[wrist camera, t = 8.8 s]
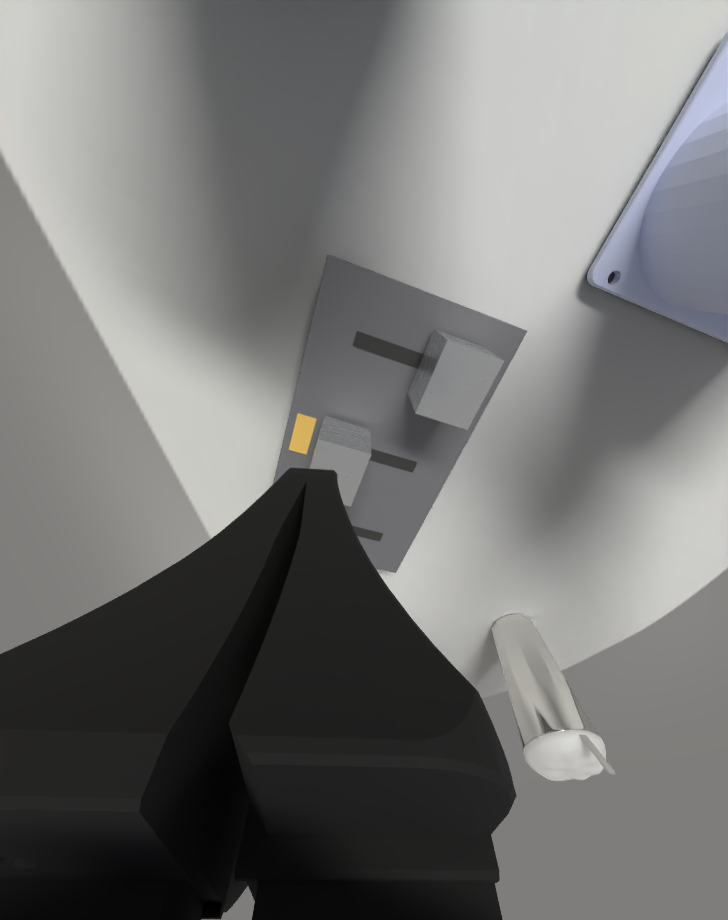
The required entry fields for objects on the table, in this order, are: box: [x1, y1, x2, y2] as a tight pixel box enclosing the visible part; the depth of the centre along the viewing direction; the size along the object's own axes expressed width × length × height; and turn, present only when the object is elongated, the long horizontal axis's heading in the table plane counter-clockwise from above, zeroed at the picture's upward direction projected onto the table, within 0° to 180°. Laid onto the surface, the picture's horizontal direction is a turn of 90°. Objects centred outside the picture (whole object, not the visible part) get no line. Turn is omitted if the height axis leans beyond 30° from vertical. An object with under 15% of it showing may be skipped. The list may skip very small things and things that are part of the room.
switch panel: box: [273, 255, 527, 573], centre depth 18 cm, size 8×15×2 cm, turn 162°
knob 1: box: [309, 416, 371, 507], centre depth 15 cm, size 2×3×2 cm
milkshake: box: [491, 614, 617, 781], centre depth 22 cm, size 4×5×10 cm
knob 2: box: [408, 329, 504, 430], centre depth 13 cm, size 2×3×2 cm
